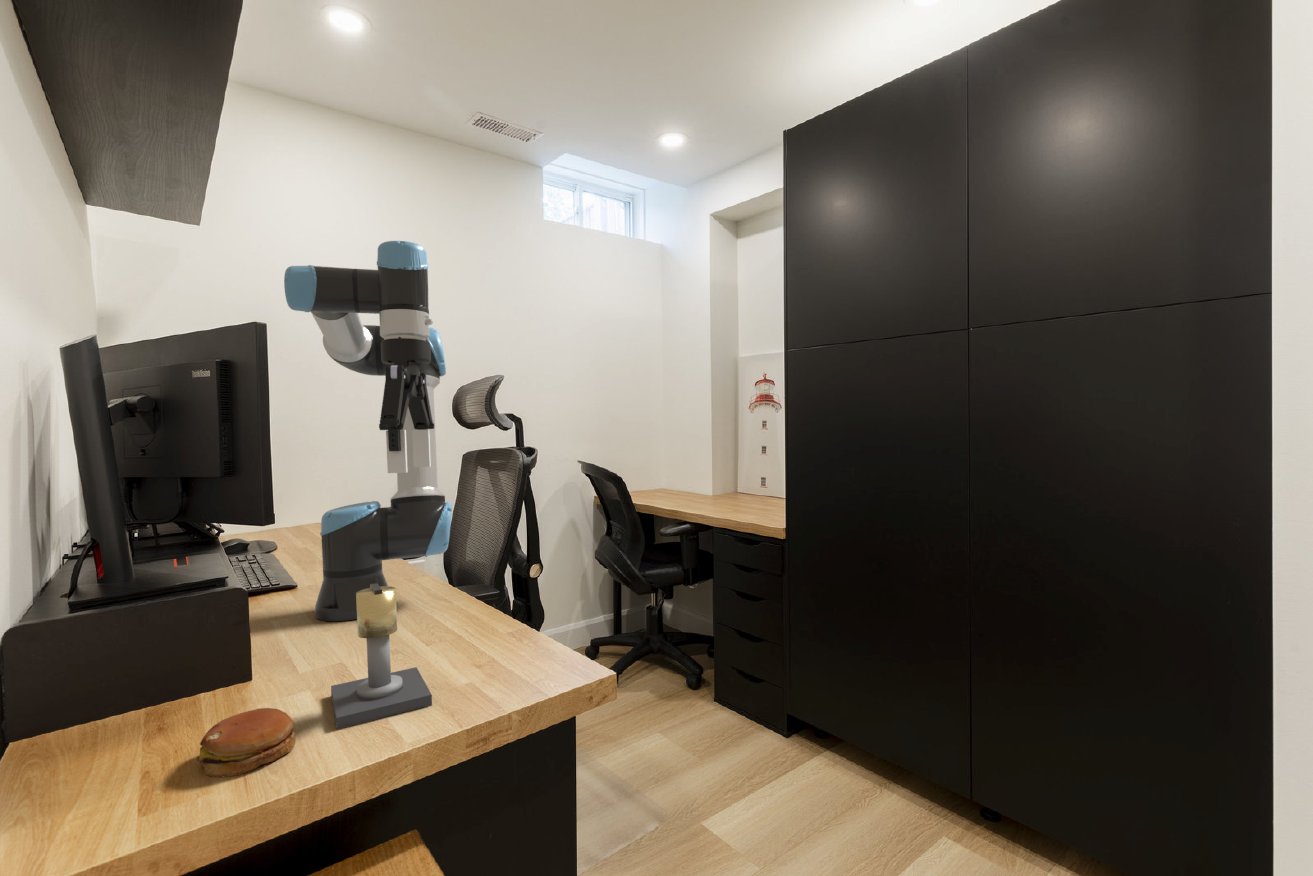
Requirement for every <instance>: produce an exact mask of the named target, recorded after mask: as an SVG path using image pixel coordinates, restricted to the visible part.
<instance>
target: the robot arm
mask: <svg viewBox="0 0 1313 876" xmlns="http://www.w3.org/2000/svg"><path fill="white" fill-rule="evenodd" d="M427 260H428V256H427V251H426V249H425V248H424V247H423V246H422V245H420V244H418V243H415V242H411V241H407V240H388V241H384V242H382V243H380V244H379V245H378V246H377V259H376V266H377V269H368V268H367V269H366V268H365V269H364V268H350V267H335V266H334V267H332V266H321V265H311V264H309V265H290V266H288V267H287V268H286V269H285V272H284V277H283V278H284V280H283V281H284V284H283V285H284V295H285V300H286V303H287V305H288V306H287V307H288V308H290V309H291V310H293V311H295V312H304V313H311V315H312V316H313V318H314V321H315V322H316V325H317V326H318V328H319V330H320V331H321V335H322V345H323V348H324V349H325V351H326V353H327V355H328V356H329V357H330V358H331V359H332V360H333V361H334V362H335V363H337V364H339V365H340V366H341V367H344V368H346V369H348V370H350V371H352V372H355V373H358V374H361V375H366V376H377V377H379V376H381V377H384V376H385V381H384V389H383V397H382V403H381V404H382V405H381V412H380V417H379V424H378V427H379V430H380V431H385V441H386V462H387V464H386V465H387V474H396V475H397V477H396V478H397V481H396V482H397V491H396V493H394V494H393V496H392V497H390V506H385V507H381V506H382V505H381V503H380V502H379V501H375V500H374V501H373V500H372V501H365V502H358V503H354V504H348V505H344V506H339V507H336V508H332V509H329V510H328V511H325V512H324V513H323V515H322V517H321V523H320V527H321V528H320V530H321V531H320V533H319V534H320V536H321V537H320V538H321V552H322V553H321V555H322V582H321V587H320V589H319V592H318V596H317V600H316V602H315V606H314V613H315V618H316V619H318V620H321V621H325V622H344V621H352V620H353V621H354V620H357V602H356V593H357V592H358V591H361V590H363V589H367V588H370V584H376V583H377V584H378V585H379V586H389V585H388V583H387V580H386V578H385V575H384V572H383V561H387V560H388V561H389V560H391V561H392V560H399V559H400V560H401V559H409V558H410V559H411V558H420V557H421V558H422V557H425V558H426V557H429V556H436V555H442V554H445V552H446V551H447V550H448V548H449V544H450V543H449V542H450V536H451V535H450V534H451V523H452V511H453V510H452V509H453V504H452V503H451V502H449V501H446V495H445V494H444V493H443V492H442V491H441V490H440V489H439V488H438V468H437V467H438V463H437V441H436V419H435V417H436V416H435V413H436V412H435V395H434V394H435V392H434V390H435V389H436V387H437V386H438V385H439V384H441V383H440V382H441V379H440V377H444V376H446V373H447V372H446V371H447V370H446V369H447V367H446V362H445V352H444V348H443V344H442V339H441V335H440V332H439V331H438V330H437V329H436V328H434V327H430V326H431V325H433V324H434V321H433V320H432V318H430V311H429V275H428V274H429V272H428V269H429V265H428V261H427ZM359 314H375V315H376V314H379V325H376V324H375V325H374V324H373V325H365V324H362V322H361V319H360V316H359Z"/></svg>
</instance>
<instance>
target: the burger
mask: <svg viewBox="0 0 1313 876" xmlns="http://www.w3.org/2000/svg"><path fill="white" fill-rule="evenodd" d="M294 727H295V724H294V720H293V719H292V717H291V716H289V714H288V713H286V712H284V711H283V710H280V709H277V708H271V707H261V708H256V709H251V710H248V711H244V712H239V713H237V714H235V715H232V716H229V717H227V718H224V719H221V720H220V721H219V722H217V723H216V724H214V725H213V726H212V727H211V728H209V729H208V730H207V732H206V733H205V734H204V736H203V737H202V739H201V741H200V744H199V745H200V746H201V747H200V748H199V754H198V755H197V756H196V759H197V760H196V761H198V762H199V764H200V765H202V767H203V772H204V774H205V775H206V776H209V777H213V778H224V777H229V778H230V777H235V776H239V775H243V774H245V773H248V772H251V771H253V770H255V769H257V768H258V767H260V766H262V765H266V764H268V763H270V762H271V763H273V762H275V760H278V759H280V758H281V757H282V756H285V755H287V754H289V753H290V752H291V751H292V750H293V749H294V747H295V745H296V734H295V732H294Z"/></svg>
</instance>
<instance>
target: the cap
mask: <svg viewBox="0 0 1313 876" xmlns="http://www.w3.org/2000/svg"><path fill="white" fill-rule="evenodd" d="M396 589H397V588H396V587H394V586H391V585H388V586H379V585H378V584H377V583H376V584H370V588H367V589H363V590H361V591H358V592H357V593H356V602H357V619H356V621H357V637H358V638H360V639H367V638H379V637H384V636H387V635H389V636H391V635H392V634H394V633H396V632H397V631H398V616H397V615H398V614H397V611H398V610H397V592H396V591H397V590H396Z"/></svg>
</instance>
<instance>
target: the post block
mask: <svg viewBox="0 0 1313 876" xmlns="http://www.w3.org/2000/svg"><path fill="white" fill-rule="evenodd" d="M390 644H391V643H390V635H387V636H384V637H379V638H366V655H367V656H366V657H367V658H366V659H367V660H366V661H367V677H365V678H360V679H357V680H351V681H349V682H342V683H338V684H333V685H331V686H330V691H331V692H330V693H331V696H330V697H331V702H332V706H333V707H332V708H333V714H334V719H335V727H336V730H340V729H344V728H347V727H351V726H356V725H360V724H363V723H367V722H371V721H374V720H379V719H384V718H387V717H390V716H394V715H398V714H402V713H407V712H412V711H414V710H419V709H422V708H426V707H430V706H432V705H433V698H432V697H433V694H432V693H431V691H430V689H429V687H428V685H427V684H426V682H425V680H424V678H423V677H422V675H421V673H420V671H419V669H418V667H417V666H416V667H411V668H406V669H401V670H397V671H392V670H391V668H392V667H391V645H390Z"/></svg>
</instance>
